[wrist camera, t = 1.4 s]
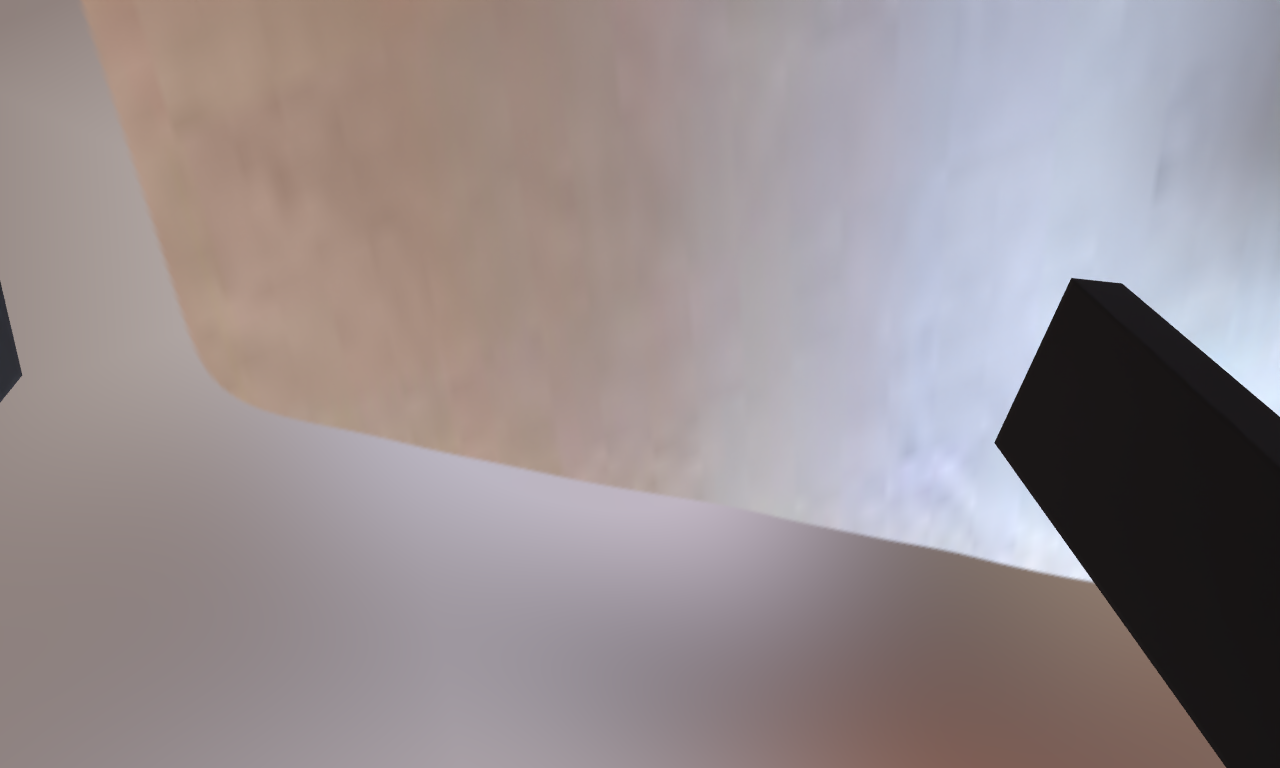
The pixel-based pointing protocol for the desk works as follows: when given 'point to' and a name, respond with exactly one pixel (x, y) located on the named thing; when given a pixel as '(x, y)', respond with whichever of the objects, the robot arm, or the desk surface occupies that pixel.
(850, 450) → the desk surface
